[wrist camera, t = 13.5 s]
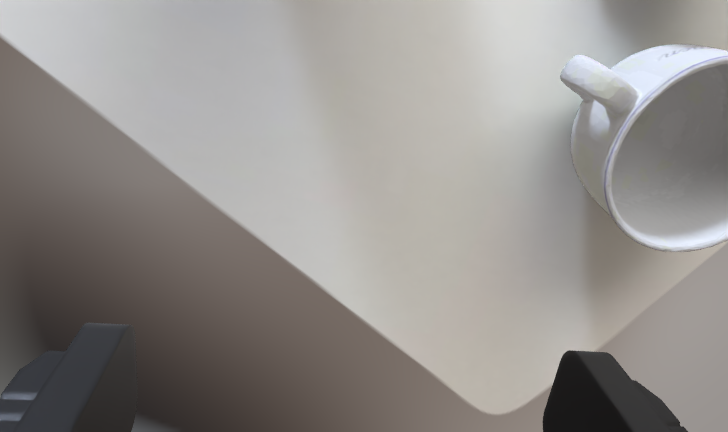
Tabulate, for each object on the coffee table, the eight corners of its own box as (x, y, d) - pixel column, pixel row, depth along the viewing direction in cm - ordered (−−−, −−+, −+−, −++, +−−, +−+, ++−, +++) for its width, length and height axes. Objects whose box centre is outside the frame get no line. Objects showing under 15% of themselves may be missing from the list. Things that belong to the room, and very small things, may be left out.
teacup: (743, 118, 36) (853, 154, 29) (612, 232, 39) (683, 292, 31) (621, -43, 31) (715, -49, 24) (482, 98, 34) (528, 132, 27)
